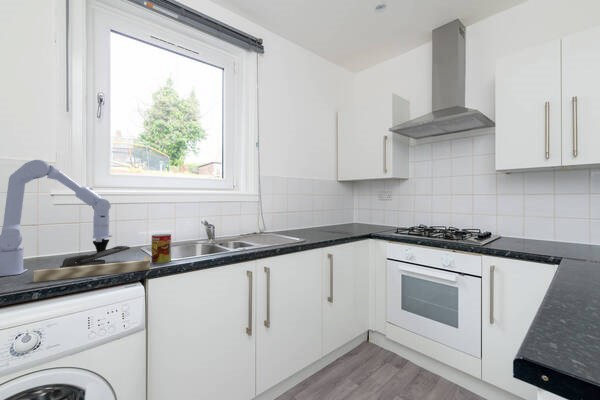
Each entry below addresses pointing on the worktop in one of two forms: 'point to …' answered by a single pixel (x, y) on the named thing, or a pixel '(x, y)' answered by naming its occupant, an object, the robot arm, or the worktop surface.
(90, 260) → the dark grey elongated piece
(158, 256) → the canned food
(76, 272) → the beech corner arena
